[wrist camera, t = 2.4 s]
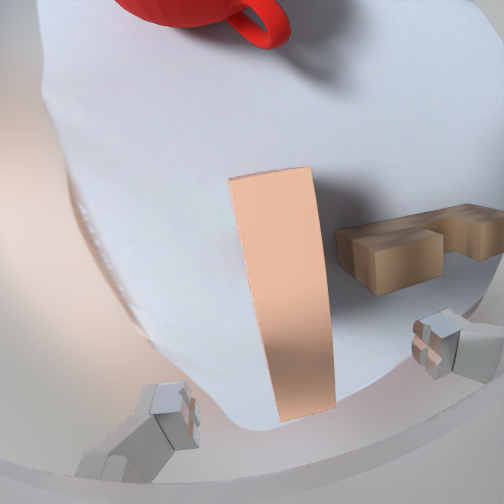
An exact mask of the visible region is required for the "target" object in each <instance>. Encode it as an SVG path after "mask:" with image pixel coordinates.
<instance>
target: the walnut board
mask: <svg viewBox="0 0 504 504" xmlns="http://www.w3.org/2000/svg"><path fill="white" fill-rule="evenodd" d="M335 234H336V242H337V250H338V260H339V266H341V267H342V268H343V269H344V270H346V271H347V272H348V273H349V274H350V275H352V276H353V277H354V278H355V279H356V280H358V281H359V282H360V283H361V284H362V285H364V286H365V287H366V288H367V289H368V290H370V291H371V292H372V293H373V294H374V295H376V296H381V295H384V294H387V293H390V292H394V291H397V290H400V289H403V288H406V287H409V286H412V285H416V284H419V283H422V282H425V281H428V280H430V279H433V278H436V277H439V276H442V275H443V254H445V253H448V252H451V251H456V252H458V253H461V254H463V255H466V256H468V257H470V258H473V259H475V260H477V261H482V260H485V259H488V258H490V257H493V256H495V255H497V254H500V253H502V252H504V211H500V210H496V209H491V208H487V207H482V206H477V205H472V204H464V205H459V206H454V207H449V208H444V209H439V210H434V211H429V212H424V213H420V214H415V215H410V216H405V217H400V218H395V219H390V220H386V221H381V222H376V223H371V224H366V225H361V226H357V227H352V228H347V229H342V230H337V231H335Z"/></svg>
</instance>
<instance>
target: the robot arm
mask: <svg viewBox="0 0 504 504" xmlns="http://www.w3.org/2000/svg"><path fill="white" fill-rule="evenodd" d="M413 333H414V334H415V335H416V336H415V338H414V339H413V341H412V353H413V356H414V358H415V360H416V361H417V362H418V363H419V364H421V365H424V366H426V371H427V372H428V373H429V374H430V375H431V376H432V377H433V378H434V379H435V380H436V379H438V378H440V377H443V376H445V375H447V374H449V373H451V372H453V373H455V374H458V375H461V376H463V377H466V378H469V379H472V380H475V381H478V382H480V383H483V384H485V385H484V386H482V387H481V388H479V389H478V390H476V391H475V392H473V393H472V394H470V395H469V396H467V397H465V398H464V399H462V400H460V401H459V402H457V403H455V404H454V405H452V406H450V407H448V408H447V409H445V410H443V411H441V412H439V413H438V414H436V415H434V416H432V417H430V418H428V419H426V420H424V421H422V422H420V423H418V424H416V425H414V426H412V427H410V428H407V429H405V430H403V431H401V432H399V433H397V434H394V435H392V436H390V437H387V438H385V439H382V440H380V441H378V442H375V443H372V444H370V445H367V446H365V447H362V448H359V449H356V450H354V451H350V452H348V453H344V454H341V455H338V456H335V457H332V458H328V459H325V460H322V461H318V462H315V463H311V464H307V465H303V466H299V467H295V468H291V469H286V470H282V471H277V472H272V473H267V474H261V475H256V476H249V477H243V478H236V479H228V480H219V481H208V482H195V483H169V484H152V483H151V482H152V481H153V480H154V478H155V477H156V476H157V475H158V473H159V472H160V471H161V469H162V468H163V467H164V466H165V464H166V463H167V462H168V460H169V459H170V458H171V456H172V455H173V454H174V452H175V451H177V450H187V449H195V448H199V438H200V433H199V431H198V429H197V428H198V426H199V425H200V412H199V408H198V405H197V402H196V400H195V399H194V398H192V397H191V388H190V385H189V383H188V382H187V381H179V382H170V383H161V384H151V385H145V386H144V387H143V388H142V392H141V395H140V398H139V401H138V404H137V407H136V410H135V413H134V416H129V417H128V418H127V419H125V420H124V421H123V422H122V423H120V424H119V425H118V426H117V427H115V428H114V429H113V430H112V431H110V432H109V433H108V434H107V435H105V436H104V437H103V438H102V439H100V440H99V441H98V442H97V443H95V444H94V445H93V446H91V447H90V448H89V449H88V450H86V451H85V452H84V454H83V456H82V459H81V461H80V464H79V466H78V469H77V472H76V474H75V477H73V476H67V475H61V474H56V473H52V472H47V471H43V470H39V469H34V468H31V467H27V466H23V465H19V464H16V463H13V462H10V461H7V460H4V459H1V458H0V504H504V326H498V325H489V324H482V323H473V324H472V323H470V322H469V321H467V320H466V319H464V318H463V317H461V316H460V315H458V314H457V313H455V312H453V311H452V310H450V309H448V308H445V309H443V310H440V311H438V312H436V313H435V314H432V315H430V316H428V317H425V318H423V319H420V320H418V321H415V323H414V325H413Z"/></svg>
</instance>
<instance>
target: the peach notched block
mask: <svg viewBox="0 0 504 504" xmlns="http://www.w3.org/2000/svg"><path fill="white" fill-rule="evenodd" d="M227 181H228V186H229V191H230V196H231V201H232V206H233V210H234V215H235V220H236V225H237V229H238V233H239V237H240V242H241V247H242V252H243V257H244V261H245V266H246V271H247V276H248V282H249V287H250V292H251V296H252V301H253V306H254V310H255V315H256V320H257V324H258V328H259V333H260V337H261V341H262V346H263V350H264V354H265V359H266V363H267V367H268V371H269V376H270V380H271V384H272V388H273V392H274V397H275V401H276V405H277V409H278V413H279V418H280V422H285V421H289V420H293V419H297V418H302V417H305V416H309V415H313V414H316V413H320V412H324V411H327V410H331V409H334V408H336V396H335V374H334V356H333V342H332V328H331V317H330V306H329V295H328V286H327V277H326V268H325V260H324V252H323V244H322V236H321V229H320V222H319V215H318V209H317V202H316V196H315V190H314V184H313V178H312V172H311V167H299V168H290V169H280V170H272V171H264V172H259V173H253V174H248V175H243V176H238V177H233V178H228V179H227Z"/></svg>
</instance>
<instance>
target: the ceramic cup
mask: <svg viewBox="0 0 504 504" xmlns="http://www.w3.org/2000/svg"><path fill="white" fill-rule="evenodd" d="M115 1H116V2H117V3H118V4H119V5H120V6H121V7H123V8H124V9H125V10H127V11H128V12H130V13H132V14H133V15H135V16H137V17H139V18H141V19H143V20H145V21H148V22H152V23H155V24H158V25H162V26H169V27H176V28H191V27H199V26H205V25H209V24H214V23H218V22H220V21H223V20H226V21H227V22H228V23H229V24H230V25H231V26H232V27H233V28H234V29H235V30H237V31H238V32H239V33H240V34H241V35H242V36H243V37H245V38H246V39H247V40H248V41H249V42H251V43H252V44H254V45H255V46H257V47H259V48H263V49H274V48H277V47H279V46H281V45H283V44H284V43H286V42H287V41H288V39H289V37H290V34H291V28H290V23H289V20H288V18H287V16H286V14H285V12H284V11H283V9H282V8H281V7H280V5H279V4H278V3H277V2H276V1H275V0H115ZM248 7H250V8H252V9H253V10H254V11H255V12H256V13H257V14H258V15H259V17H260V18H261V19H262V21H263V22H264V24H265V26H266V28H267V31H268V33H267V32H266V31H264V30H263V29H262V28H260V27H259V26H258V25H257V24H255V23H254V22H253V21H252V20H251V19H250V18H248V17H247V16H246V15H245V14H244V13H243V12H242V11H244V10H245V9H247V8H248Z"/></svg>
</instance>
